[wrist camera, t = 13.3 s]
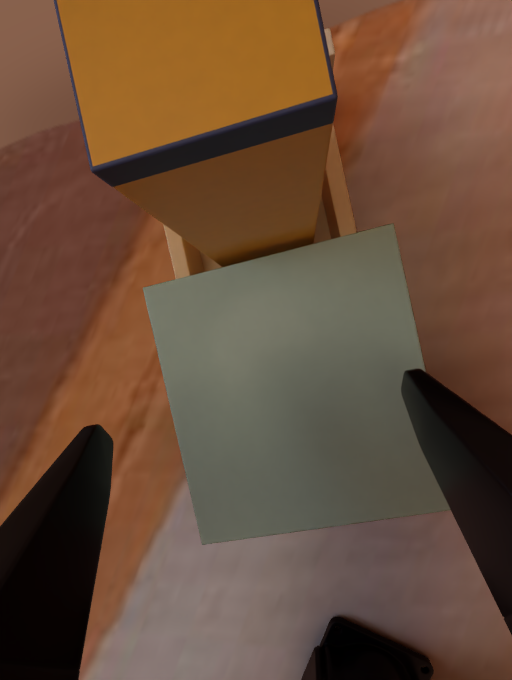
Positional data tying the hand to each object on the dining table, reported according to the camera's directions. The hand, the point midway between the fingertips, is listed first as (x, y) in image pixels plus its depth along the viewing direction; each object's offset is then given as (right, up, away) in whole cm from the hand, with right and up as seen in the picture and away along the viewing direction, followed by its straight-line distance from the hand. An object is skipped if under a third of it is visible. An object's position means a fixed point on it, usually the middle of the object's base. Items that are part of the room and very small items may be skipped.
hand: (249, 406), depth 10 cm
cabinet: (+3, 0, +11) cm, 12 cm away
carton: (0, +9, +9) cm, 13 cm away
